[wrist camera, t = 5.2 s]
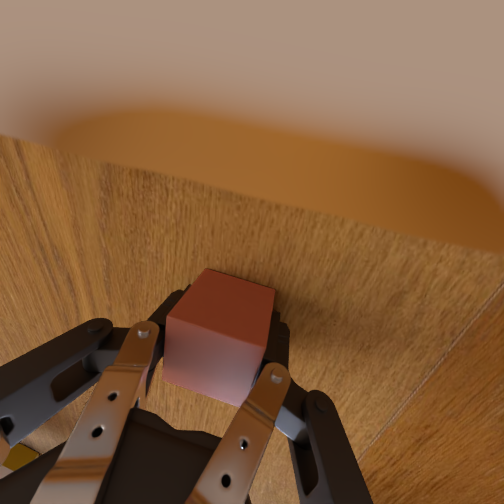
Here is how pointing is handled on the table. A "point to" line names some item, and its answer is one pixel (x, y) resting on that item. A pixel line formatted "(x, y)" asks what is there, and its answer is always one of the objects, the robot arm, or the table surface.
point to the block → (218, 336)
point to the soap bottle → (17, 459)
